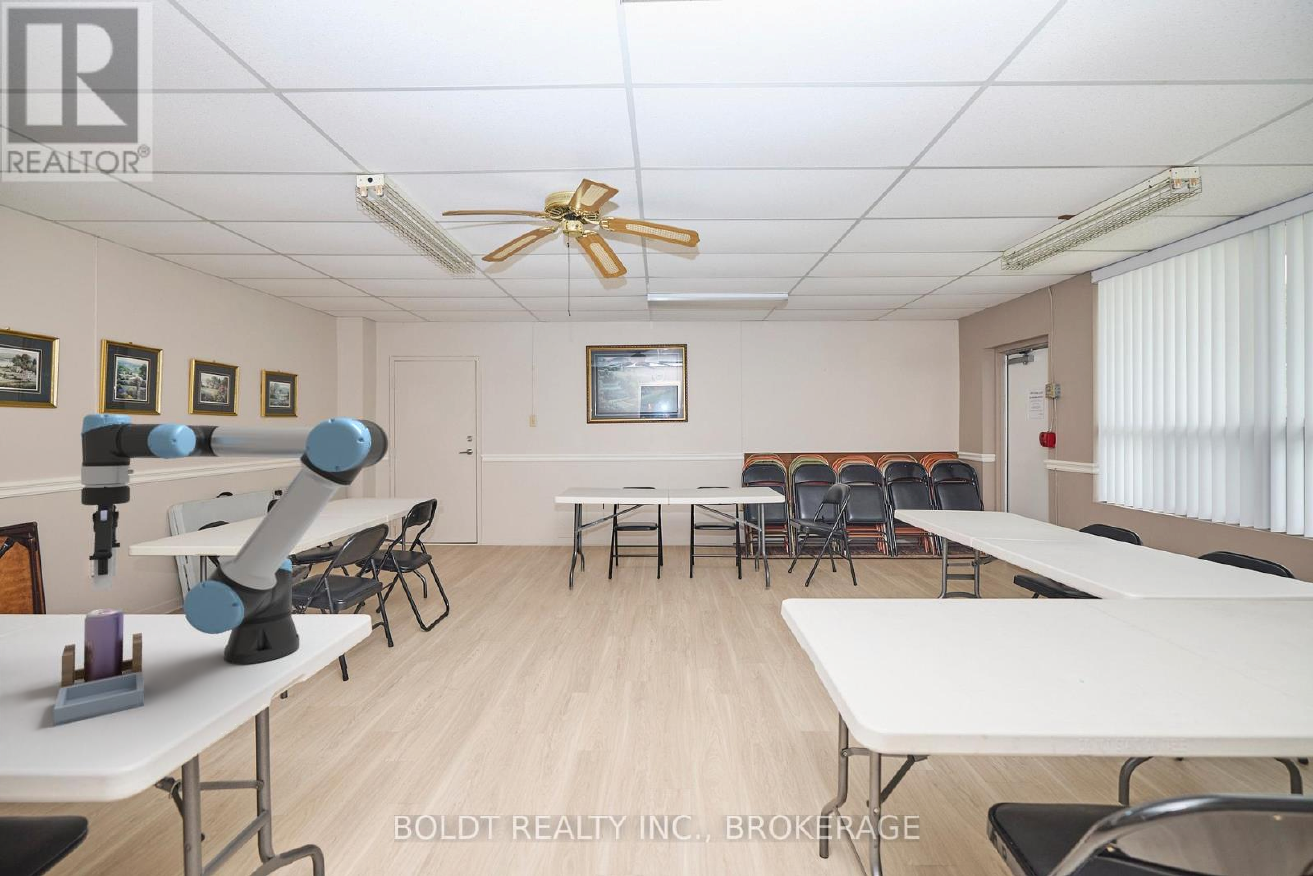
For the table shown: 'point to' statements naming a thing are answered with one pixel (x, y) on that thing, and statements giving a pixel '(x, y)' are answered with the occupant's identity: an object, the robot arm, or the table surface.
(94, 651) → the beverage can
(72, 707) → the tray
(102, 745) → the table surface
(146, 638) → the table surface
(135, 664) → the bracket
